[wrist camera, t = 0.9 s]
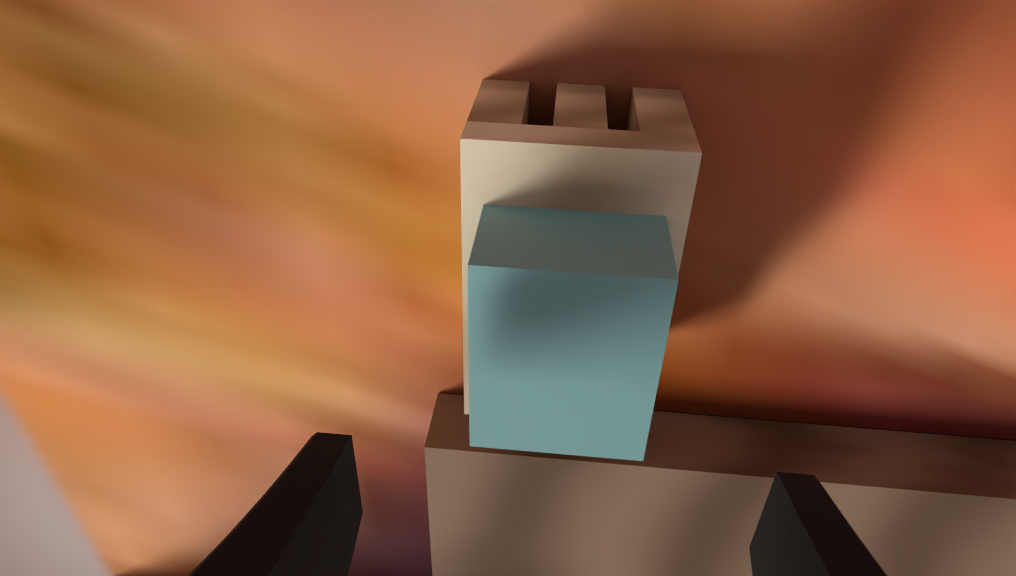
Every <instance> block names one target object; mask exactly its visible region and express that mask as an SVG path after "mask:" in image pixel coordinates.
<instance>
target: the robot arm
mask: <svg viewBox="0 0 1016 576" xmlns="http://www.w3.org/2000/svg"><path fill="white" fill-rule="evenodd" d="M362 512H363V511H362V504H361V497H360V490H359V483H358V476H357V469H356V463H355V456H354V449H353V442H352V435H342V434H331V433H319V432H317V433H316V434H314V435H313V436H312V437H311V438H310V439H309V440H308V442H307V443H306V444H305V445H304V447H303V448H302V449H301V451H300V452H299V453H298V454H297V455H296V457H295V458H294V459H293V460H292V462H291V463H290V464H289V465H288V467H287V468H286V469H285V470H284V471H283V473H282V474H281V475H280V476H279V477H278V479H277V480H276V481H275V482H274V483H273V485H272V486H271V487H270V488H269V489H268V490H267V492H266V493H265V494H264V495H263V496H262V497H261V499H260V500H259V501H258V502H257V503H256V504H255V505H254V506H253V508H252V509H251V510H250V511H249V512H248V513H247V514H246V515H245V517H244V518H243V519H242V520H241V521H240V522H239V523H238V524H237V525H236V527H235V528H234V529H233V530H232V531H231V532H230V533H229V534H228V535H227V536H226V538H225V539H224V540H223V541H222V542H221V543H220V544H219V545H218V546H217V547H216V548H215V549H214V550H213V551H212V552H211V553H210V554H209V555H208V556H207V557H206V558H205V559H204V560H203V561H202V562H201V563H200V564H199V565H198V566H197V567H196V568H195V569H194V570H193V571H192V572H191V573H190V574H189V576H347V574H348V571H349V568H350V563H351V559H352V555H353V551H354V547H355V543H356V539H357V534H358V530H359V526H360V521H361V517H362ZM749 550H750V558H751V567H752V575H753V576H887V574H886V573H885V572H884V570H883V569H882V568H881V566H880V565H879V564H878V562H877V561H876V560H875V558H874V557H873V556H872V554H871V553H870V552H869V550H868V549H867V548H866V546H865V545H864V543H863V542H862V541H861V539H860V538H859V536H858V535H857V534H856V532H855V531H854V530H853V528H852V527H851V525H850V524H849V523H848V521H847V520H846V518H845V517H844V516H843V514H842V513H841V511H840V510H839V508H838V507H837V506H836V504H835V503H834V501H833V500H832V498H831V497H830V496H829V494H828V493H827V491H826V490H825V489H824V487H823V486H822V484H821V483H820V481H819V480H818V479H817V478H816V477H815V475H809V474H797V473H785V472H776V475H775V478H774V480H773V483H772V486H771V489H770V491H769V494H768V497H767V500H766V502H765V505H764V508H763V511H762V513H761V516H760V519H759V522H758V524H757V527H756V530H755V533H754V536H753V538H752V541H751V544H750V547H749Z"/></svg>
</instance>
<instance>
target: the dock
mask: <svg viewBox="0 0 1016 576" xmlns="http://www.w3.org/2000/svg"><path fill="white" fill-rule="evenodd" d="M424 448H425V464H426V480H427V496H428V513H429V529H430V545H431V561H432V576H753V575H752V567H751V558H750V550H749V547H750V544H751V541H752V538H753V536H754V533H755V530H756V527H757V524H758V522H759V519H760V516H761V513H762V511H763V508H764V505H765V502H766V500H767V497H768V494H769V491H770V489H771V486H772V483H773V480H774V478H775V475H776V472H785V473H797V474H809V475H815V477H816V478H817V479H818V480H819V481H820V483H821V484H822V486H823V487H824V489H825V490H826V491H827V493H828V494H829V496H830V497H831V498H832V500H833V501H834V503H835V504H836V506H837V507H838V508H839V510H840V511H841V513H842V514H843V516H844V517H845V518H846V520H847V521H848V523H849V524H850V525H851V527H852V528H853V530H854V531H855V532H856V534H857V535H858V536H859V538H860V539H861V541H862V542H863V543H864V545H865V546H866V548H867V549H868V550H869V552H870V553H871V554H872V556H873V557H874V558H875V560H876V561H877V562H878V564H879V565H880V566H881V568H882V569H883V570H884V572H885V573H886V574H887V576H1016V441H1010V440H998V439H986V438H974V437H962V436H950V435H938V434H926V433H914V432H902V431H890V430H878V429H866V428H854V427H841V426H829V425H817V424H805V423H793V422H781V421H769V420H757V419H745V418H733V417H721V416H709V415H697V414H685V413H673V412H661V411H653V413H652V418H651V424H650V429H649V434H648V439H647V444H646V449H645V454H644V459H643V461H635V460H624V459H612V458H601V457H589V456H577V455H566V454H554V453H543V452H531V451H520V450H508V449H497V448H485V447H474V446H470V437H469V414H464V395H456V394H444V393H438V396H437V400H436V404H435V408H434V412H433V416H432V420H431V424H430V427H429V431H428V435H427V439H426V443H425V447H424Z"/></svg>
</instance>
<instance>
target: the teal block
mask: <svg viewBox="0 0 1016 576" xmlns="http://www.w3.org/2000/svg"><path fill="white" fill-rule="evenodd" d="M678 281H679V278H678V273H677V268H676V263H675V258H674V253H673V248H672V243H671V238H670V233H669V228H668V223H667V218H666V216H656V215H640V214H625V213H610V212H594V211H579V210H563V209H548V208H533V207H517V206H502V205H486V204H483V208H482V212H481V216H480V220H479V223H478V227H477V231H476V235H475V239H474V243H473V247H472V250H471V254H470V258H469V262H468V340H469V437H470V446H474V447H485V448H497V449H508V450H520V451H531V452H543V453H554V454H566V455H577V456H589V457H601V458H612V459H624V460H635V461H643V459H644V454H645V449H646V444H647V439H648V434H649V429H650V424H651V418H652V413H653V408H654V403H655V398H656V393H657V388H658V383H659V378H660V373H661V368H662V363H663V358H664V352H665V347H666V342H667V337H668V332H669V327H670V322H671V317H672V312H673V307H674V302H675V297H676V292H677V287H678Z"/></svg>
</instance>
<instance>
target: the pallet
mask: <svg viewBox="0 0 1016 576" xmlns="http://www.w3.org/2000/svg"><path fill="white" fill-rule="evenodd" d="M529 91H530V82H528V81H510V80H491V79H483V81H482V83H481V86H480V88H479V91H478V94H477V96H476V99H475V101H474V104H473V107H472V109H471V112H470V114H469V117H468V120H467V122H466V125H465V128H464V130H463V133H462V135H461V138H460V155H461V224H462V293H463V362H464V414H469V340H468V262H469V258H470V254H471V250H472V247H473V243H474V239H475V235H476V231H477V227H478V223H479V220H480V216H481V212H482V208H483V204H486V205H502V206H517V207H533V208H548V209H563V210H579V211H594V212H610V213H625V214H640V215H656V216H666V218H667V223H668V228H669V233H670V238H671V243H672V248H673V253H674V258H675V263H676V268H677V273H678V274H679V269H680V264H681V259H682V254H683V249H684V244H685V238H686V233H687V228H688V223H689V218H690V213H691V208H692V203H693V198H694V193H695V188H696V183H697V178H698V172H699V167H700V162H701V157H702V151H701V148H700V145H699V142H698V139H697V136H696V133H695V130H694V127H693V124H692V121H691V118H690V116H689V113H688V110H687V107H686V104H685V101H684V98H683V95H682V92H681V90H674V89H656V88H637V87H633V89H632V97H631V104H630V112H629V120H628V128H627V130H610V129H608V124H607V110H606V95H605V86H601V85H583V84H564V83H557V92H556V101H555V111H554V120H553V126H542V125H528V114H529Z"/></svg>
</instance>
